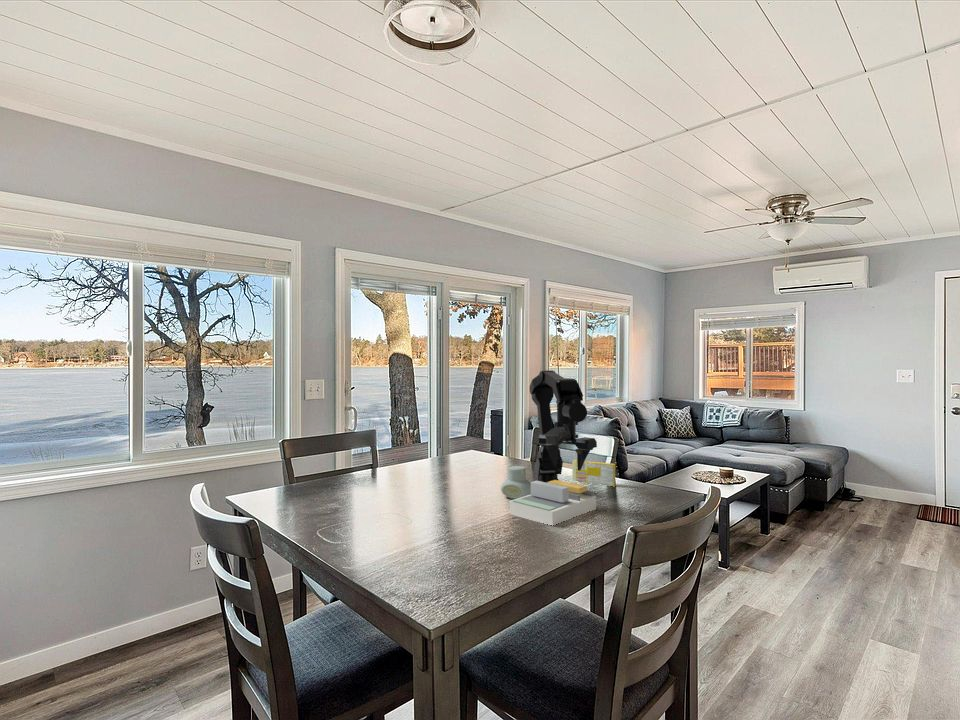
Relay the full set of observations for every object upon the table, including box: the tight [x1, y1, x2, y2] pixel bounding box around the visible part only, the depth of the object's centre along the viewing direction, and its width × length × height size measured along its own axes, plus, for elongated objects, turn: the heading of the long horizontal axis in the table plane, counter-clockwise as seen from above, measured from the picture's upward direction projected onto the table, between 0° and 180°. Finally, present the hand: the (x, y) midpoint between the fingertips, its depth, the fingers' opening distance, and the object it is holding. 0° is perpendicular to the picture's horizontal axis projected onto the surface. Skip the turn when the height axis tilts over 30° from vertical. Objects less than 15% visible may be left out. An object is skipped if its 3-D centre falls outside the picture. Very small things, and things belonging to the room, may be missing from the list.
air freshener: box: [500, 465, 531, 500], centre depth 172 cm, size 11×8×10 cm
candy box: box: [571, 459, 616, 488], centre depth 189 cm, size 16×2×8 cm, turn 58°
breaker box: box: [509, 489, 597, 527], centre depth 155 cm, size 16×22×6 cm
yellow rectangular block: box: [548, 479, 588, 493], centre depth 160 cm, size 12×4×2 cm, turn 45°
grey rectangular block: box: [530, 480, 569, 503], centre depth 154 cm, size 12×3×4 cm, turn 45°
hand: (566, 468), depth 160 cm, fingers open, 9 cm apart
